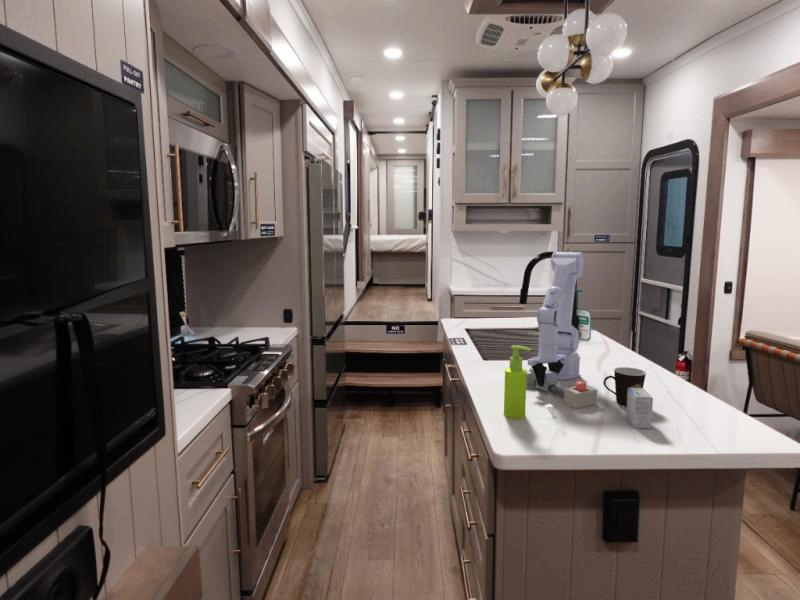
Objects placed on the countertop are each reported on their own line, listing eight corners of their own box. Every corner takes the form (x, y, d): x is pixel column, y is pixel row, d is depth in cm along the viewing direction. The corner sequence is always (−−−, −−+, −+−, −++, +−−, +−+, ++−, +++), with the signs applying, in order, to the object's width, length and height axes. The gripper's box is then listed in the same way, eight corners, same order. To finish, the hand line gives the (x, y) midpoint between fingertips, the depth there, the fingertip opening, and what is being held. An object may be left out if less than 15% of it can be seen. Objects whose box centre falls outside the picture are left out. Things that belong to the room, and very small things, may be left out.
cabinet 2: (583, 399, 154) (584, 385, 153) (596, 404, 149) (597, 389, 148) (563, 403, 150) (564, 388, 150) (576, 408, 146) (576, 393, 145)
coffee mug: (641, 400, 152) (643, 368, 151) (645, 410, 144) (647, 376, 143) (600, 396, 156) (602, 365, 155) (602, 405, 148) (604, 373, 147)
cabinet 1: (539, 381, 172) (540, 365, 171) (545, 383, 169) (546, 368, 168) (521, 384, 168) (521, 368, 167) (527, 387, 165) (527, 371, 165)
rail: (538, 385, 168) (539, 379, 167) (576, 400, 152) (576, 394, 152) (534, 385, 167) (534, 380, 166) (571, 401, 152) (571, 395, 151)
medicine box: (651, 429, 131) (653, 397, 129) (633, 428, 131) (635, 396, 130) (642, 418, 138) (644, 388, 137) (625, 417, 139) (627, 387, 138)
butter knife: (553, 403, 150) (543, 403, 150) (572, 436, 126) (560, 436, 126) (552, 405, 150) (543, 404, 150) (571, 438, 126) (560, 437, 126)
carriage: (546, 385, 166) (546, 369, 165) (556, 389, 162) (557, 373, 161) (535, 387, 164) (536, 370, 163) (546, 391, 160) (546, 374, 159)
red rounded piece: (580, 391, 151) (581, 380, 151) (588, 394, 149) (588, 383, 148) (573, 393, 150) (573, 382, 149) (580, 396, 147) (581, 384, 147)
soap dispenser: (524, 420, 137) (527, 349, 134) (500, 416, 140) (502, 346, 137) (531, 414, 142) (533, 345, 139) (508, 409, 145) (509, 342, 142)
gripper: (538, 348, 154) (537, 391, 156) (574, 344, 160) (572, 384, 162) (523, 344, 160) (522, 384, 162) (558, 339, 166) (557, 378, 168)
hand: (546, 384), depth 163 cm, fingers closed on carriage, 4 cm apart
